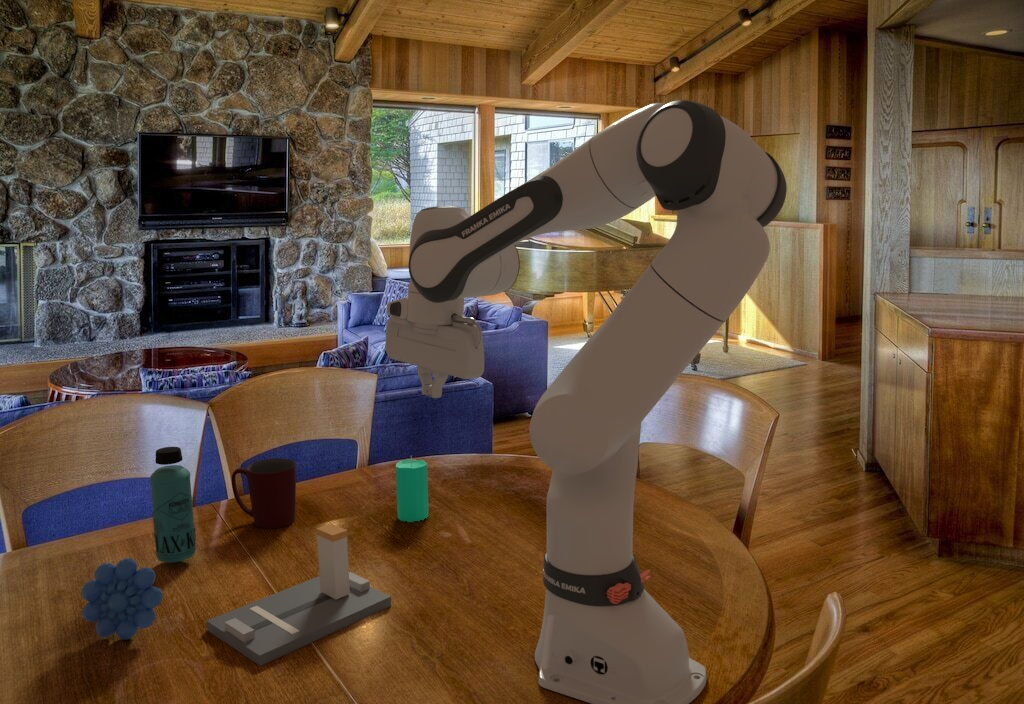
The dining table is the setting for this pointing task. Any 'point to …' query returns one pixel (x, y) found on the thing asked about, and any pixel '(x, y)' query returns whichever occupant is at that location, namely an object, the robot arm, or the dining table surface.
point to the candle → (412, 490)
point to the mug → (269, 492)
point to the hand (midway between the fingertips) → (431, 396)
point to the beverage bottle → (172, 508)
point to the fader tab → (333, 561)
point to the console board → (295, 618)
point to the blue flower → (121, 599)
